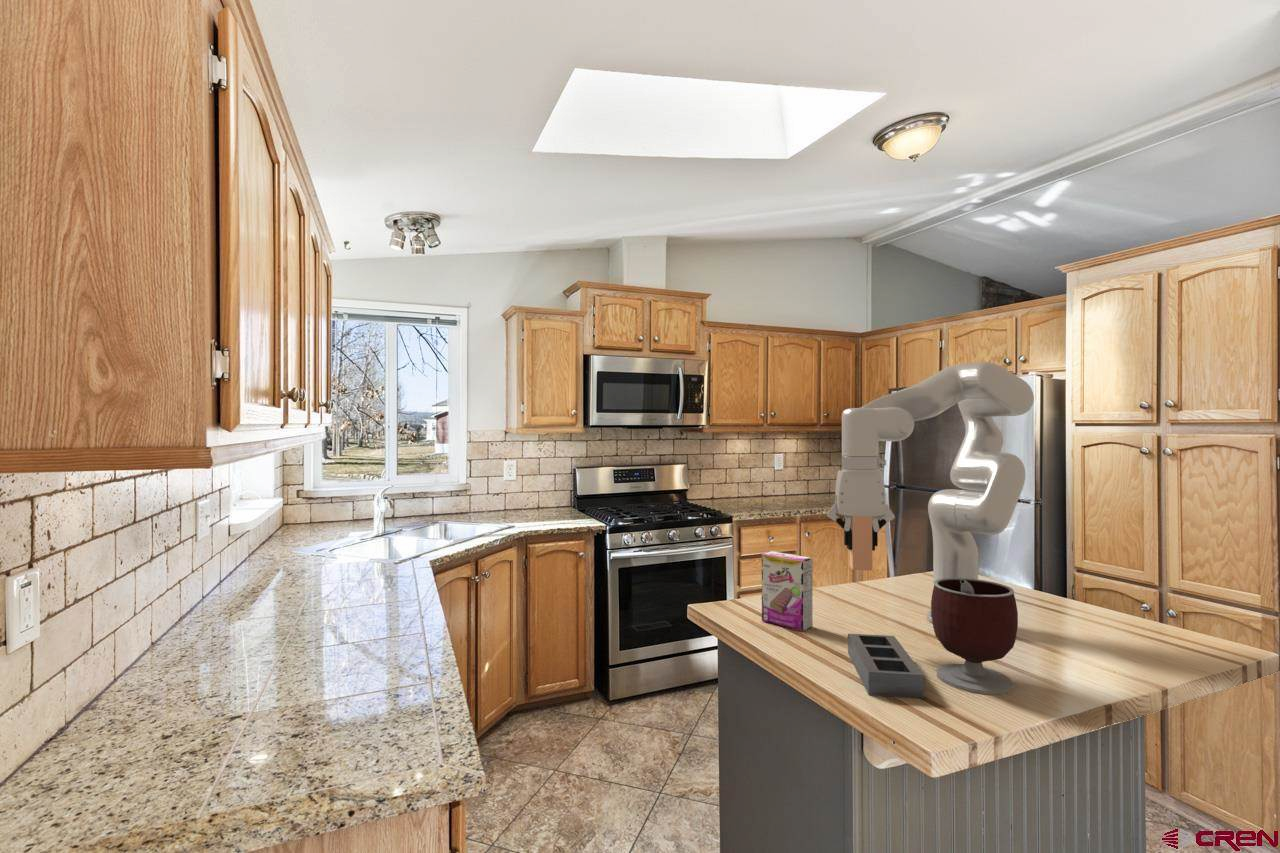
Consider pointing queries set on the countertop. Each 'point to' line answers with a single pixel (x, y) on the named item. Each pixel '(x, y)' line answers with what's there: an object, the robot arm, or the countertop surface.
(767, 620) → the candy bar box
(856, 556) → the square peg
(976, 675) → the mate gourd
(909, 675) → the rail
